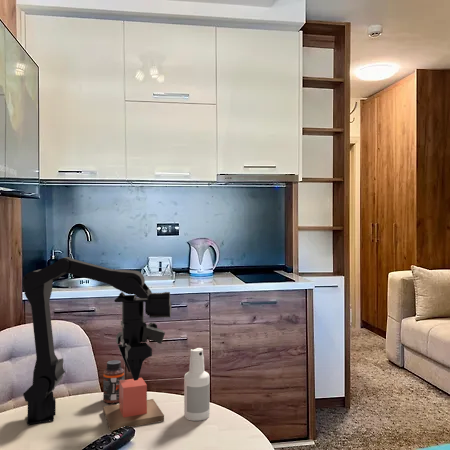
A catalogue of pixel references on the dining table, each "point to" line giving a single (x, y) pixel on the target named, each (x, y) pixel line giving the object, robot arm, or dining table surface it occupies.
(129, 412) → the salmon foam cube
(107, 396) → the supplement bottle
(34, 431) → the dining table surface
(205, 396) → the spray bottle
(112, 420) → the board
